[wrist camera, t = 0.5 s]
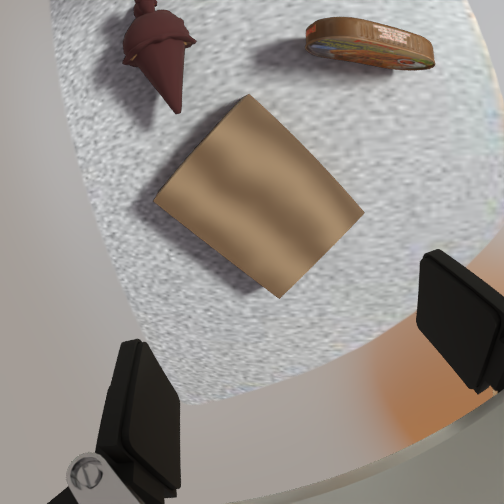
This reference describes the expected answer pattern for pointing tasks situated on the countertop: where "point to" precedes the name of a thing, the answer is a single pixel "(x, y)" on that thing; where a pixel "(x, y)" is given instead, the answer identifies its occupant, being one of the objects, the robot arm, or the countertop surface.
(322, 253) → the base
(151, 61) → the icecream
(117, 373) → the robot arm
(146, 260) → the countertop surface
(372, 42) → the tin
